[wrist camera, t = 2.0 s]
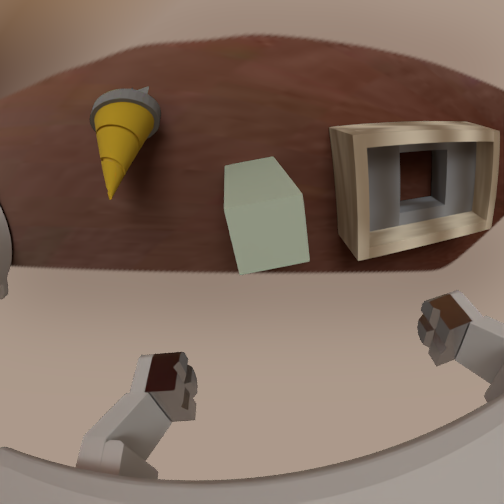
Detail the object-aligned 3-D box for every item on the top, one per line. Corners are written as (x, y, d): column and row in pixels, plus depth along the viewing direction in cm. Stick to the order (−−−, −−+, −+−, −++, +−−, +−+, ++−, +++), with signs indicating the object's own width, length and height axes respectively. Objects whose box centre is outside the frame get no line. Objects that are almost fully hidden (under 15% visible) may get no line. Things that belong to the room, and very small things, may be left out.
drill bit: (179, 87, 20) (168, 199, 18) (136, 116, 23) (120, 220, 21) (129, 52, 16) (97, 169, 14) (89, 90, 19) (58, 200, 16)
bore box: (338, 233, 27) (357, 261, 23) (328, 127, 22) (352, 135, 18) (463, 209, 27) (490, 228, 23) (466, 121, 22) (499, 131, 18)
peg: (234, 210, 25) (239, 275, 17) (224, 165, 24) (223, 209, 15) (280, 201, 25) (309, 261, 17) (273, 156, 23) (302, 194, 15)
